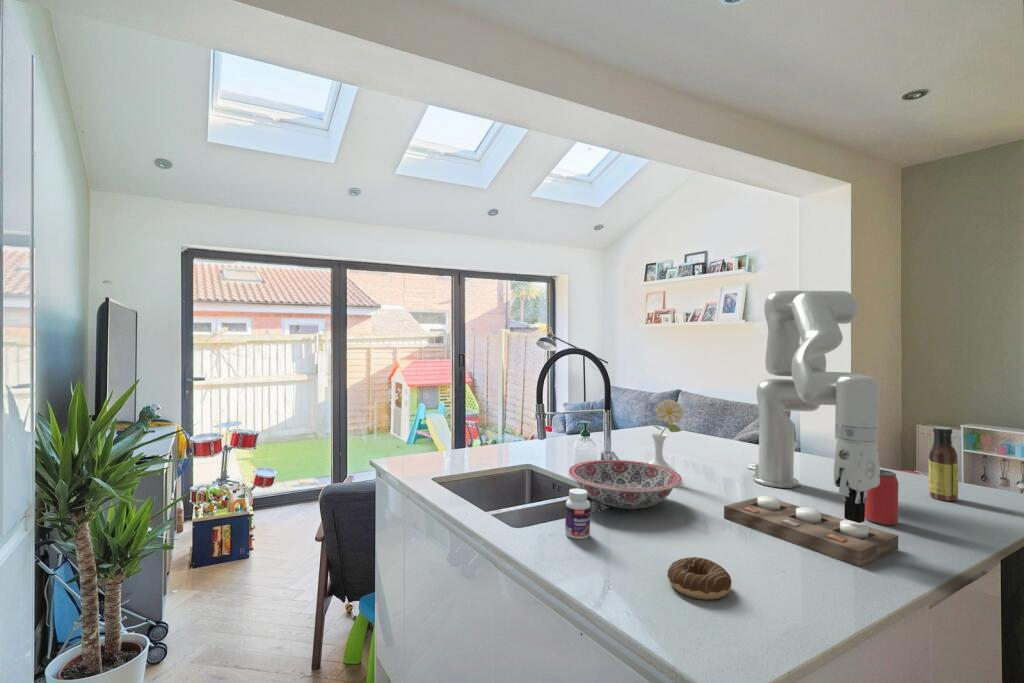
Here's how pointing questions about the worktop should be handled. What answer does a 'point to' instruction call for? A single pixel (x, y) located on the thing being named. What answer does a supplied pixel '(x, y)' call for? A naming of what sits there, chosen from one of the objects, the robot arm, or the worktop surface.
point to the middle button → (808, 515)
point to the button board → (813, 532)
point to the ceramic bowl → (625, 482)
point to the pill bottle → (577, 514)
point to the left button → (768, 503)
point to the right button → (854, 529)
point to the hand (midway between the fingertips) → (854, 520)
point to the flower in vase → (669, 414)
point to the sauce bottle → (943, 466)
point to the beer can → (883, 500)
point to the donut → (699, 578)
